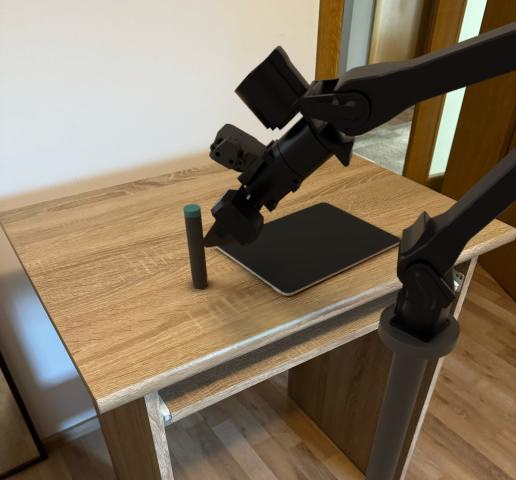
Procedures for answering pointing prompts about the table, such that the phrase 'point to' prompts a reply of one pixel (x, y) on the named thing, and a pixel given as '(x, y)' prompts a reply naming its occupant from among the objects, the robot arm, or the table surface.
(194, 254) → the teal capped marker
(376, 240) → the tablet
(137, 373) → the table surface
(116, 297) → the table surface
